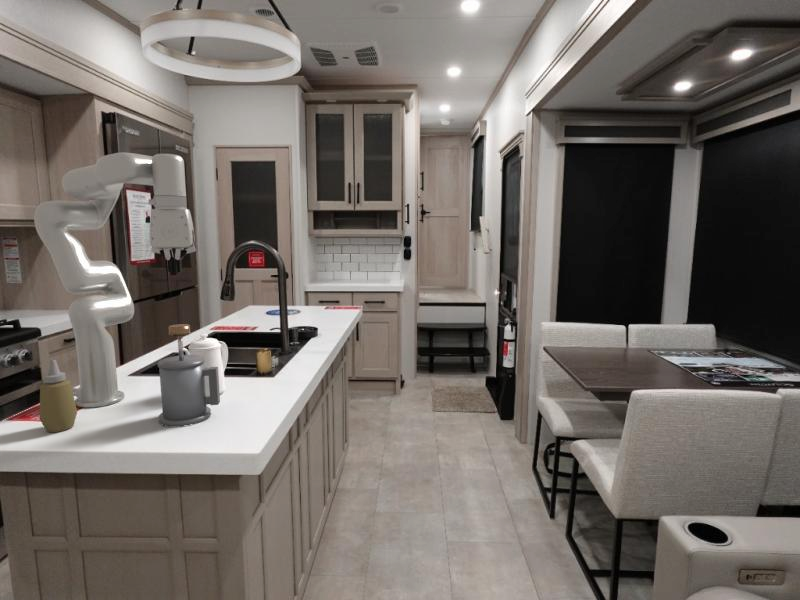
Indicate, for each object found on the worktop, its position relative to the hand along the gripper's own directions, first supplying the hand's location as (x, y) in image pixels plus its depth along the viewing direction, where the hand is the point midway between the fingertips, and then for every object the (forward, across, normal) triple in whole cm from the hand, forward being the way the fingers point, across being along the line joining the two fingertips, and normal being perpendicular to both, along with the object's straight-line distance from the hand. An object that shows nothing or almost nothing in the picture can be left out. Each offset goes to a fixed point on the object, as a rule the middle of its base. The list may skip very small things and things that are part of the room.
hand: (175, 274), depth 131 cm
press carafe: (+39, +2, -1) cm, 39 cm away
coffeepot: (+39, +1, +19) cm, 44 cm away
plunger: (+23, 0, -1) cm, 23 cm away
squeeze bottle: (+39, -30, -4) cm, 49 cm away
